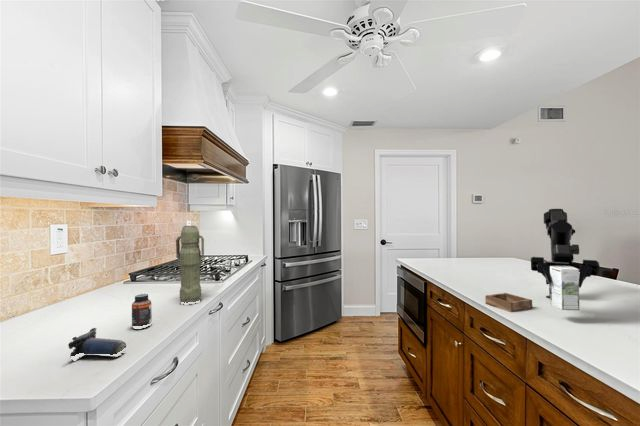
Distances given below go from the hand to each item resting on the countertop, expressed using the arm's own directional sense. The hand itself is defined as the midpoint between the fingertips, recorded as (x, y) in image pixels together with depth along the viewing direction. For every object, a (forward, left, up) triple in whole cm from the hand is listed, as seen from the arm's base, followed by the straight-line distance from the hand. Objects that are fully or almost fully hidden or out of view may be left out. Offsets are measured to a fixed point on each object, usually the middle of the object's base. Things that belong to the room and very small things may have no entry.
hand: (564, 285), depth 99 cm
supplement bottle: (+141, -48, -13) cm, 149 cm away
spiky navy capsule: (+146, -28, -13) cm, 149 cm away
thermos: (+128, -74, -13) cm, 149 cm away
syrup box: (-1, -1, -8) cm, 8 cm away
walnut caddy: (+2, -20, -13) cm, 24 cm away
